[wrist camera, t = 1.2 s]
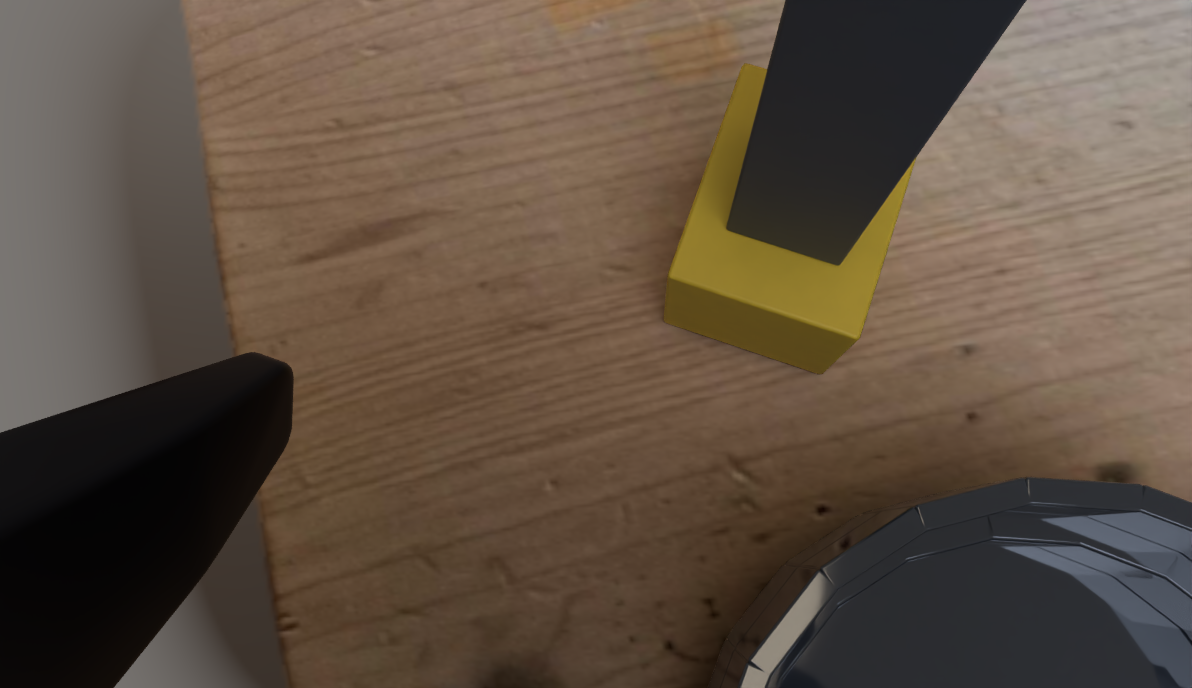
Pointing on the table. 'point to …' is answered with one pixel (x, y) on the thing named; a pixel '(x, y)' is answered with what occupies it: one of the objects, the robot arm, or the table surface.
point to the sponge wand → (820, 170)
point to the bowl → (982, 595)
